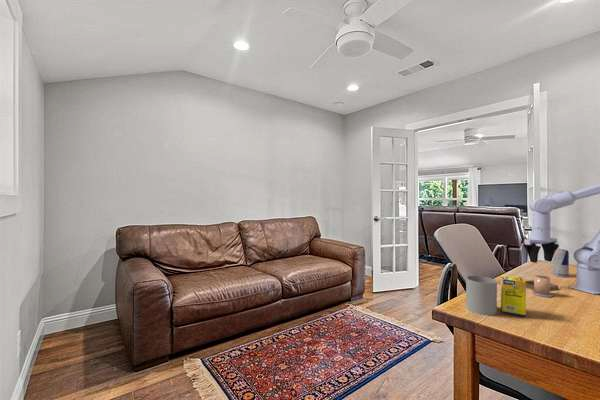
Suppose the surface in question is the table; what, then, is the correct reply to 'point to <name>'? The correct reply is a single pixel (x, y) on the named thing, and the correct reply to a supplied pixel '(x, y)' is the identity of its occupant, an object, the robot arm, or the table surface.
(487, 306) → the cup
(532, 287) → the frame
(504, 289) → the supplement box
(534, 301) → the table surface
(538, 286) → the clay pot
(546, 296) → the glossy gray dome
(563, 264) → the energy drink
